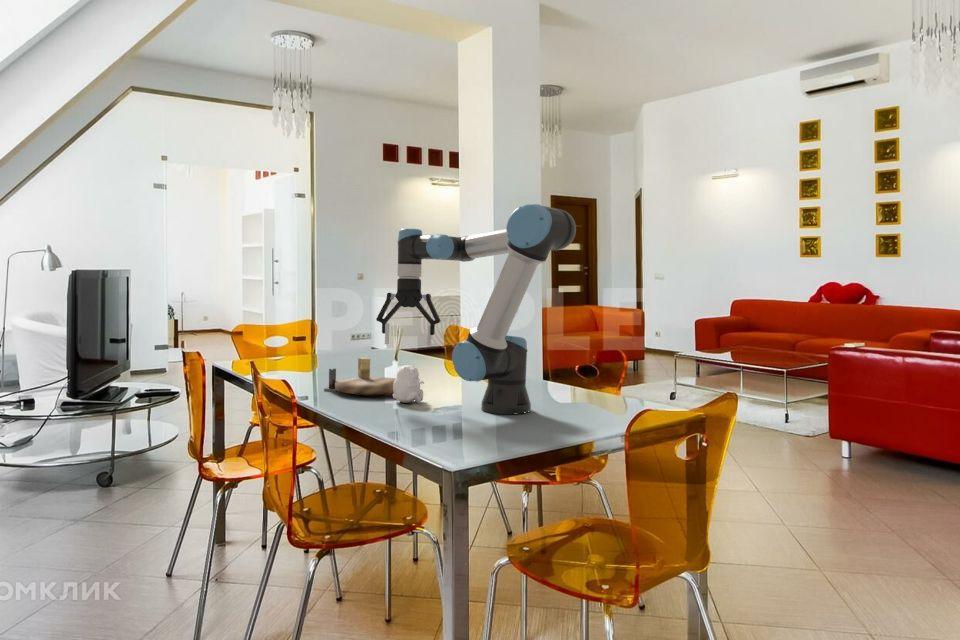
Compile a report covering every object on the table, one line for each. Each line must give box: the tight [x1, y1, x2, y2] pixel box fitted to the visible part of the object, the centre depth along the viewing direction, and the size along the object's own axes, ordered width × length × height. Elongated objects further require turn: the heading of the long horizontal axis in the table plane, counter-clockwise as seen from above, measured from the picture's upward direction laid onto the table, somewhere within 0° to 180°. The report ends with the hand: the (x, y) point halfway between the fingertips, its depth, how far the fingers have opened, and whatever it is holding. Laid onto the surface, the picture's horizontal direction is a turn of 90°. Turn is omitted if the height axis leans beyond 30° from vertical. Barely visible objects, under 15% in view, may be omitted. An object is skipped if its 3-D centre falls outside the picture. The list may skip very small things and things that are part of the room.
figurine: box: [392, 364, 425, 404], centre depth 219 cm, size 10×10×12 cm
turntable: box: [335, 356, 396, 395], centre depth 236 cm, size 26×27×9 cm
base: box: [323, 368, 389, 397], centre depth 237 cm, size 24×14×8 cm, turn 85°
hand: (407, 344), depth 218 cm, fingers open, 13 cm apart
